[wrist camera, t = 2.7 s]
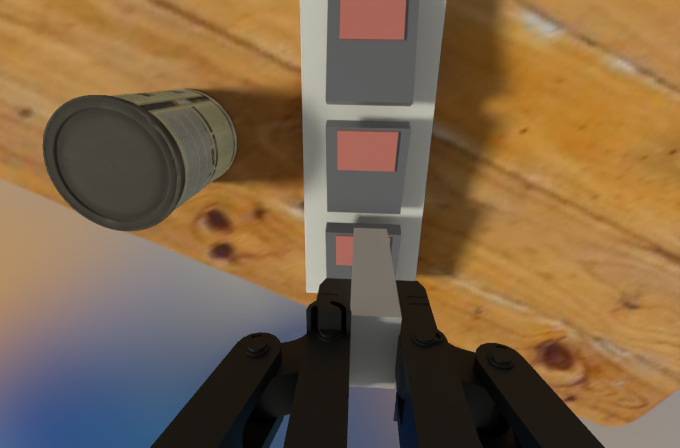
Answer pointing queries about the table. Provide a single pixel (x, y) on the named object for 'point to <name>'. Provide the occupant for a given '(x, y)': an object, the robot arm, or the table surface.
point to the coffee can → (137, 154)
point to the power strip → (320, 112)
